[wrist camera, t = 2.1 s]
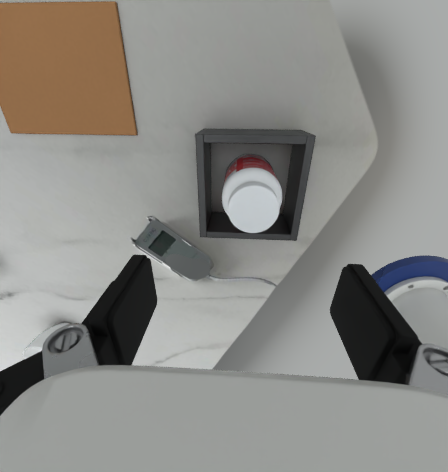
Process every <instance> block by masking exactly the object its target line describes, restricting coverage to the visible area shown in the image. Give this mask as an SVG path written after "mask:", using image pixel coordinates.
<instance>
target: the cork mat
mask: <svg viewBox="0 0 448 472" xmlns="http://www.w3.org/2000/svg"><path fill="white" fill-rule="evenodd" d="M0 106H1V109H2V111H3V114H4V117H5V119H6V122H7V124H8V127H9V129H10V132H11V133H29V134H93V135H137V129H136V122H135V116H134V110H133V103H132V97H131V91H130V84H129V78H128V71H127V65H126V59H125V52H124V46H123V40H122V33H121V27H120V21H119V14H118V8H117V3H116V2H37V3H0Z"/></svg>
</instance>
